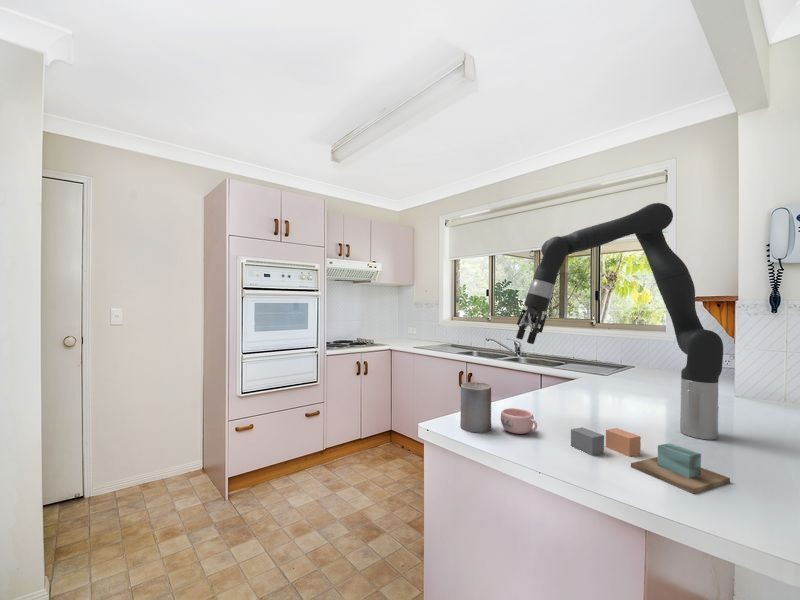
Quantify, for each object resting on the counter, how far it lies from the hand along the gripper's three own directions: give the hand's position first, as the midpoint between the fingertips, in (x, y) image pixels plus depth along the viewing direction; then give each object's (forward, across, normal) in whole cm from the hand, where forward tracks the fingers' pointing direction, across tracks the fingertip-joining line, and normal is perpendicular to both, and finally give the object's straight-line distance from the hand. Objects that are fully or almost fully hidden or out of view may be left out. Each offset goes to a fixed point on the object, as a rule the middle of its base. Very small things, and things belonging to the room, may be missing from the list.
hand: (524, 341), depth 127 cm
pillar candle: (+31, -7, +10) cm, 33 cm away
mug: (+27, -11, -2) cm, 30 cm away
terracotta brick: (+20, -27, -24) cm, 41 cm away
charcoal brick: (+23, -26, -15) cm, 37 cm away
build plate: (+18, -41, -27) cm, 53 cm away
